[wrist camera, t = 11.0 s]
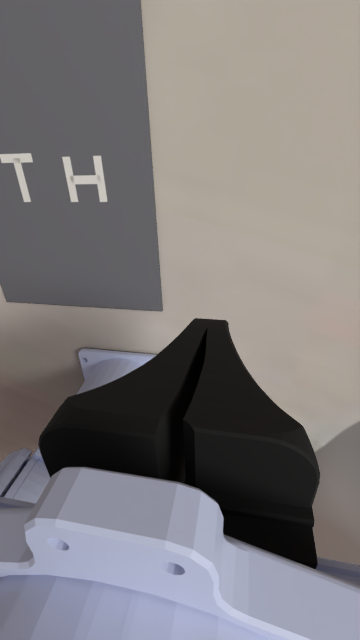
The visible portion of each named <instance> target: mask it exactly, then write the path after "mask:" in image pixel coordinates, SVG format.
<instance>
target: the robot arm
mask: <svg viewBox="0 0 360 640" xmlns="http://www.w3.org/2000/svg"><path fill="white" fill-rule="evenodd" d="M78 356H79V360H80V364H81V368H82V372H83V376H84V380H85V382H84V383H83V385H82V386H81V388H80V389H79V391H78V392H77V394H76V395H74V396H70V397H68V398H67V399H66V400H65V401H64V403H63V404H62V405H61V406H60V408H59V409H58V410H57V412H56V413H55V415H54V416H53V418H52V419H51V421H50V422H49V424H48V425H47V427H46V428H45V429H44V431H43V432H42V434H41V435H40V438H39V443H38V444H39V447H38V448H37V450H36V451H35V453H34V454H33V456H32V457H30V455H31V453H32V451H31V450H29V449H27V448H25V447H24V448H22V449H20V450H19V451H14V452H11V453H9V454H8V455H7V456H6V457H5V458H4V459H3V460H2V462H1V463H0V640H360V565H357V564H352V563H346V562H341V561H336V560H330V559H325V558H320V557H317V555H316V549H315V542H314V536H313V530H312V527H313V526H314V516H313V511H312V504H313V501H314V498H315V495H316V491H317V488H318V485H319V479H320V472H319V467H318V463H317V459H316V456H315V453H314V450H313V448H312V445H311V443H310V440H309V438H308V436H307V433H306V431H305V429H304V427H303V426H302V425H301V424H300V423H298V422H297V421H296V420H294V419H293V418H292V417H291V416H289V415H288V414H287V413H285V412H284V411H283V410H282V409H281V408H279V407H278V406H277V405H276V404H275V403H274V402H273V401H272V400H271V399H270V398H269V397H268V396H267V395H266V393H265V392H264V391H263V390H262V389H261V388H260V387H259V386H258V384H257V383H256V382H255V380H254V379H253V378H252V376H251V375H250V373H249V372H248V371H247V369H246V367H245V366H244V364H243V362H242V360H241V359H240V357H239V355H238V353H237V351H236V349H235V346H234V344H233V341H232V339H231V336H230V332H229V328H228V322H227V321H226V320H213V319H198V318H195V319H194V320H193V321H192V322H191V323H190V324H189V325H188V326H187V327H186V328H185V329H184V330H183V331H182V332H181V334H180V335H179V336H178V337H176V338H175V339H174V340H173V341H172V342H171V343H170V344H169V345H168V346H167V347H166V348H165V349H163V350H162V351H161V352H160V353H159V354H157V355H154V354H143V353H131V352H120V351H109V350H98V349H86V348H82V349H81V350H80V351H79V352H78ZM84 358H86V359H87V360H86V359H84ZM24 466H25V467H24Z"/></svg>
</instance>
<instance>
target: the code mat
mask: <svg viewBox="0 0 360 640" xmlns="http://www.w3.org/2000/svg"><path fill="white" fill-rule="evenodd" d="M0 284H1V286H2V289H3V292H4V295H5V298H6V301H7V302H19V303H35V304H51V305H67V306H83V307H99V308H115V309H131V310H147V311H163V307H162V293H161V279H160V265H159V251H158V237H157V223H156V209H155V195H154V181H153V167H152V153H151V139H150V125H149V111H148V97H147V83H146V70H145V56H144V42H143V28H142V14H141V0H0Z"/></svg>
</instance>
